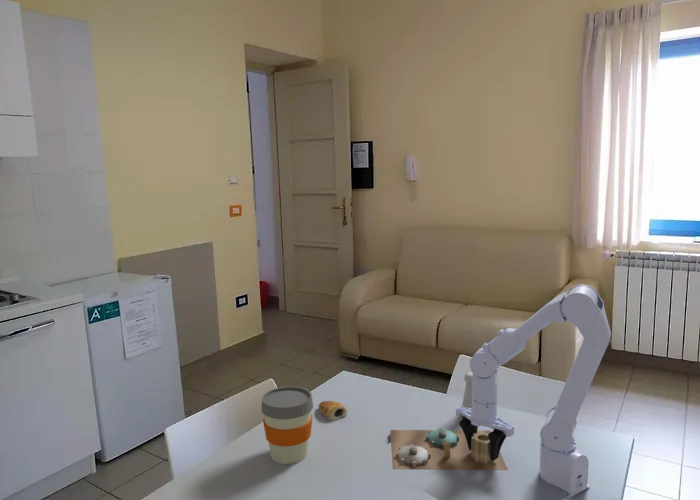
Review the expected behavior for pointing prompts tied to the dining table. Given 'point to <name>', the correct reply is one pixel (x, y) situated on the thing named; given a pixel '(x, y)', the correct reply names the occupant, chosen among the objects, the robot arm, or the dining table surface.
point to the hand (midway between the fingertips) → (483, 453)
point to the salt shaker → (468, 390)
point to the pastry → (332, 410)
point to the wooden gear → (481, 448)
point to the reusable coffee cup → (287, 422)
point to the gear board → (436, 451)
